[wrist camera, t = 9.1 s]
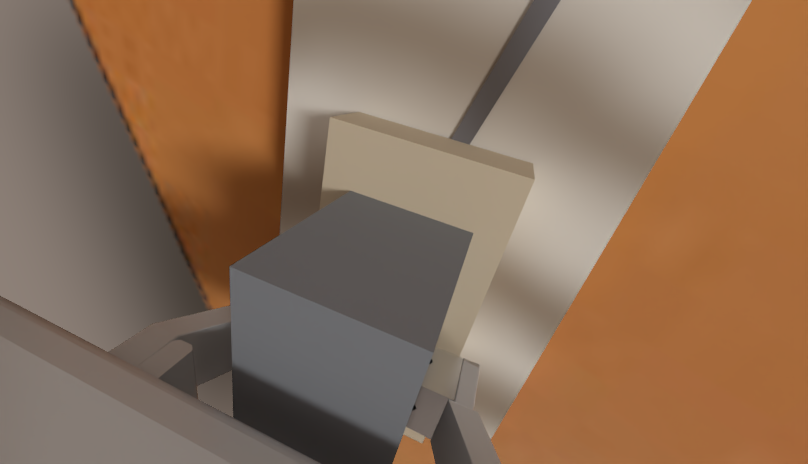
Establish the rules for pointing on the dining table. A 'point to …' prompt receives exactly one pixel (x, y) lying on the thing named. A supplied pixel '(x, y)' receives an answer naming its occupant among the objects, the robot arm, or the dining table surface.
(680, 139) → the dining table surface
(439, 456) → the robot arm
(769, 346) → the dining table surface
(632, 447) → the dining table surface
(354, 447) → the block
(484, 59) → the marked board
